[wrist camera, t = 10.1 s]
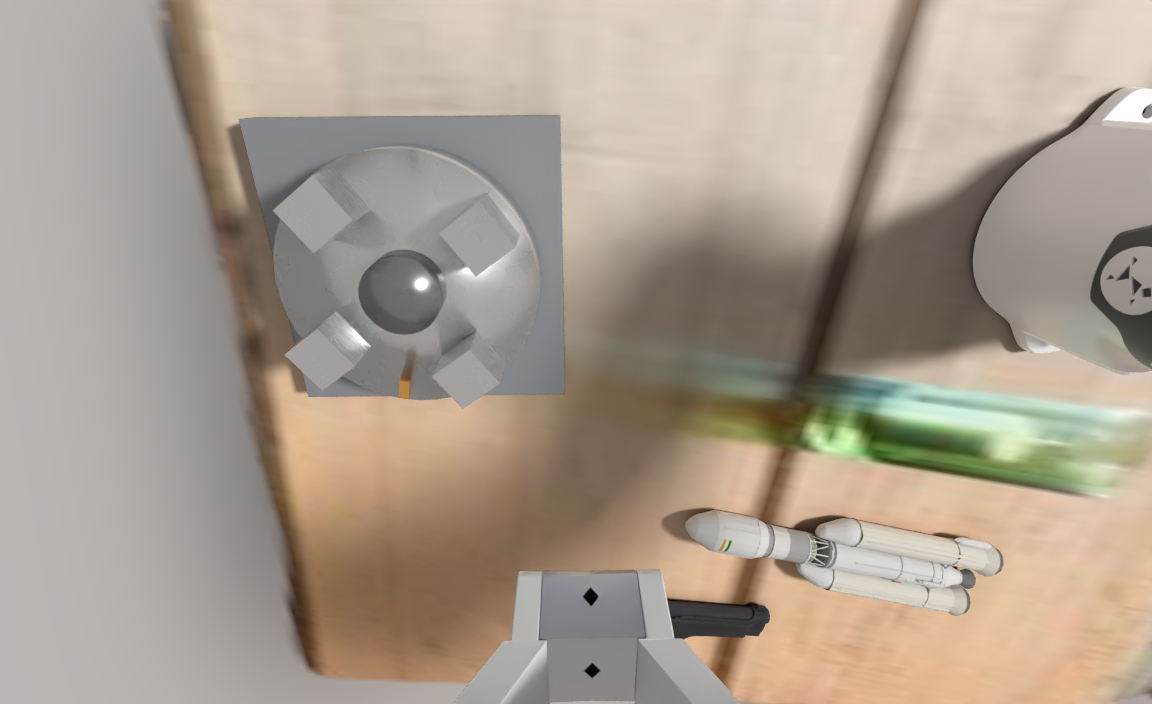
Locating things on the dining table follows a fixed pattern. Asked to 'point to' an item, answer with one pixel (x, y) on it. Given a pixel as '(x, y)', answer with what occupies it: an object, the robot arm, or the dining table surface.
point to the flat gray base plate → (493, 143)
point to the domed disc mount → (406, 274)
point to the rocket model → (859, 557)
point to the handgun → (716, 619)
